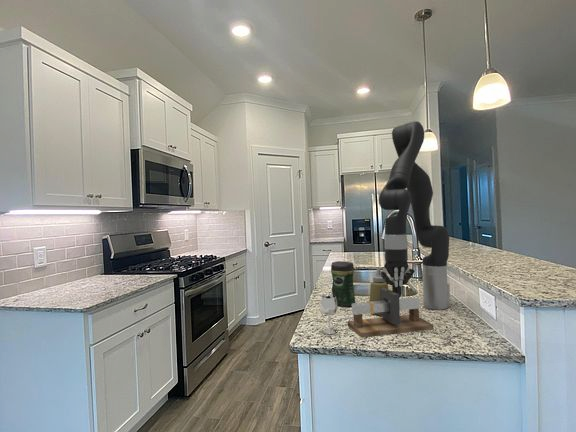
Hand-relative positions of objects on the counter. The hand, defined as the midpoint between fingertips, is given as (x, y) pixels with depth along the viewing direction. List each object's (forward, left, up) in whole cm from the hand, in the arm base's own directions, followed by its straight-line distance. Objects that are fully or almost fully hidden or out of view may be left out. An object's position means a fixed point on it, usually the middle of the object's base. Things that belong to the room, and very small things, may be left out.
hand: (397, 296), depth 120 cm
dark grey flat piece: (+3, 0, -8) cm, 8 cm away
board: (+3, 0, -10) cm, 11 cm away
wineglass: (+24, -2, -10) cm, 26 cm away
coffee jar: (+8, -31, -11) cm, 34 cm away
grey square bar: (+4, 0, -5) cm, 6 cm away
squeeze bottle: (-1, -15, -11) cm, 18 cm away
